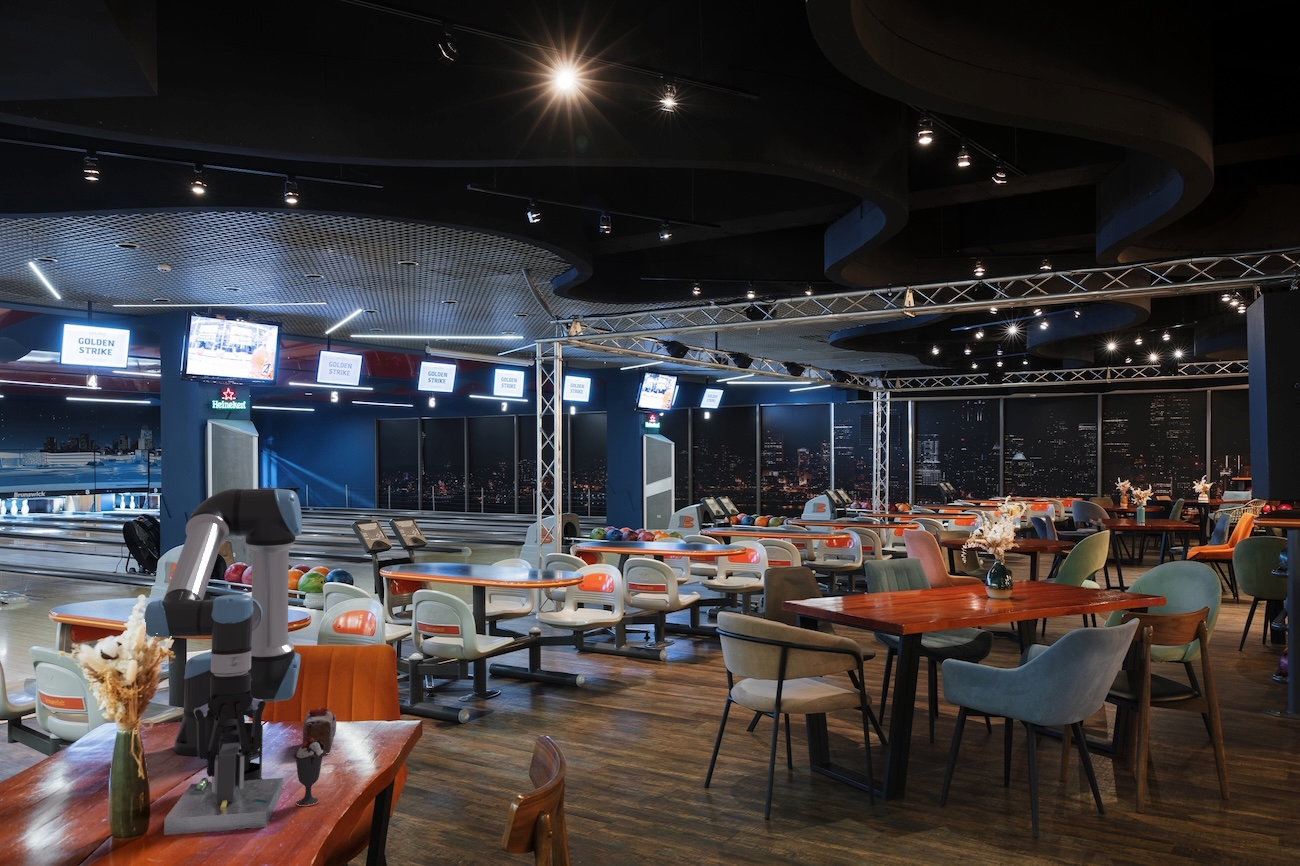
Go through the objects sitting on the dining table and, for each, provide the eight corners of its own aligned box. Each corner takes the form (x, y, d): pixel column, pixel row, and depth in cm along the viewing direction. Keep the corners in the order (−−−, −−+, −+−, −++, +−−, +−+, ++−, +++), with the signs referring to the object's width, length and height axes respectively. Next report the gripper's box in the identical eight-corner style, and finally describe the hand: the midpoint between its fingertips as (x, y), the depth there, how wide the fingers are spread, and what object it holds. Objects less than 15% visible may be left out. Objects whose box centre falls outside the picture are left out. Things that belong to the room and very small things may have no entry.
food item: (302, 741, 233) (303, 702, 233) (335, 739, 235) (336, 700, 236) (301, 757, 220) (302, 716, 220) (336, 754, 223) (337, 713, 223)
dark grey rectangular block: (221, 788, 188) (222, 743, 188) (237, 786, 189) (238, 742, 189) (214, 811, 175) (215, 763, 176) (231, 809, 176) (232, 762, 177)
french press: (255, 791, 196) (258, 683, 197) (209, 793, 195) (212, 684, 196) (268, 773, 208) (271, 671, 209) (224, 775, 206) (227, 672, 207)
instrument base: (191, 798, 192) (191, 775, 192) (282, 792, 196) (282, 769, 196) (163, 835, 172) (164, 809, 172) (265, 827, 176) (266, 802, 177)
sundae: (292, 810, 185) (294, 735, 186) (289, 800, 191) (291, 727, 192) (327, 805, 188) (328, 731, 189) (322, 795, 194) (324, 723, 195)
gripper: (188, 681, 177) (184, 803, 176) (279, 670, 187) (276, 786, 186) (181, 674, 183) (177, 792, 182) (270, 664, 193) (267, 776, 192)
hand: (227, 789), depth 184 cm, fingers closed on dark grey rectangular block, 4 cm apart
